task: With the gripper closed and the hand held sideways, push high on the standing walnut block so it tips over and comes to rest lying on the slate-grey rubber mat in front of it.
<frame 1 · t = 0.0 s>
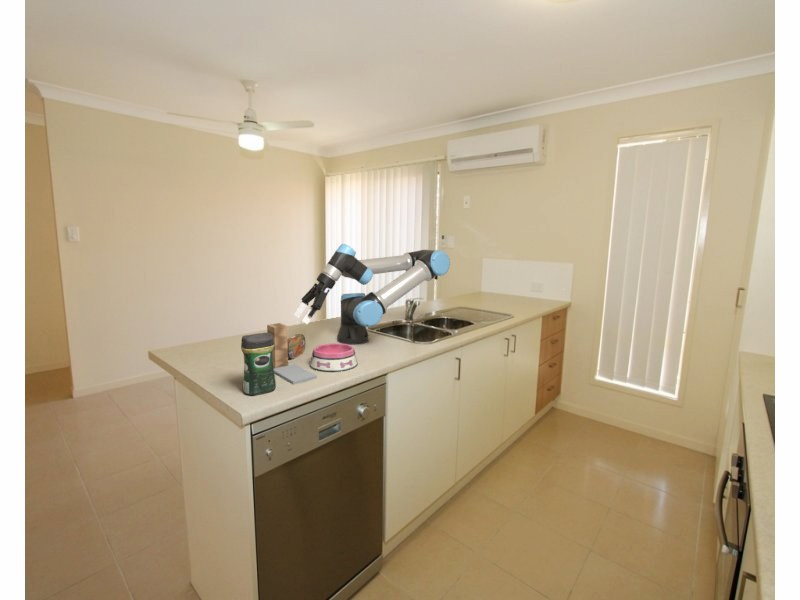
hand: (299, 319, 157), 15 cm above the countertop, tool tilted 35°, fingers open, 13 cm apart
tin: (295, 356, 158), on the countertop
mat: (293, 375, 136), on the countertop
dog bowl: (333, 365, 149), on the countertop
coffee jar: (259, 391, 122), on the countertop
walnut block: (278, 366, 145), on the countertop
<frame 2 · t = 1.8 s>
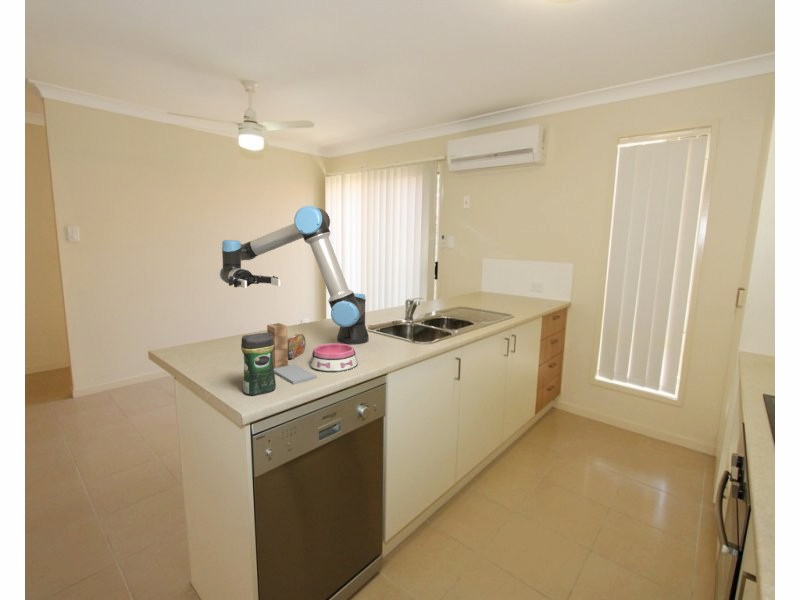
hand: (263, 283, 149), 30 cm above the countertop, tool horizontal, fingers open, 13 cm apart
nothing on the countertop moved.
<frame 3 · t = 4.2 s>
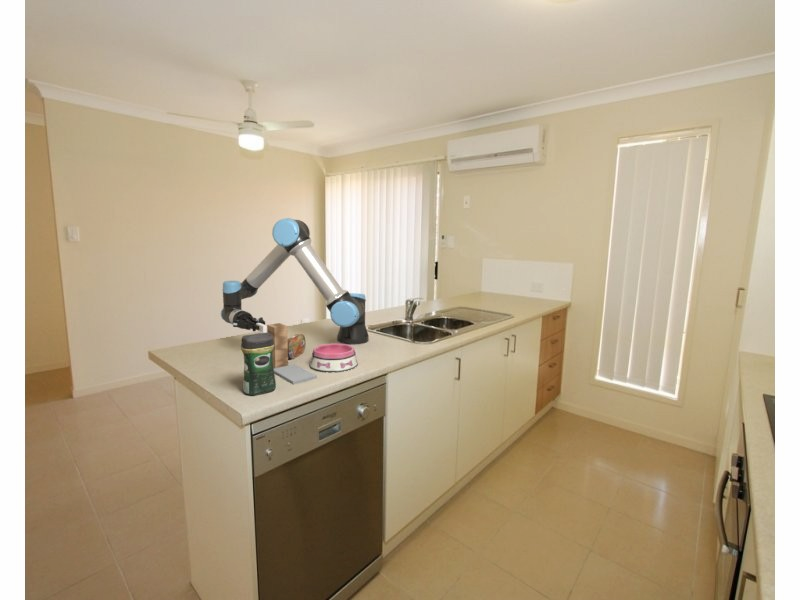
hand: (264, 329, 150), 12 cm above the countertop, tool horizontal, fingers closed
nothing on the countertop moved.
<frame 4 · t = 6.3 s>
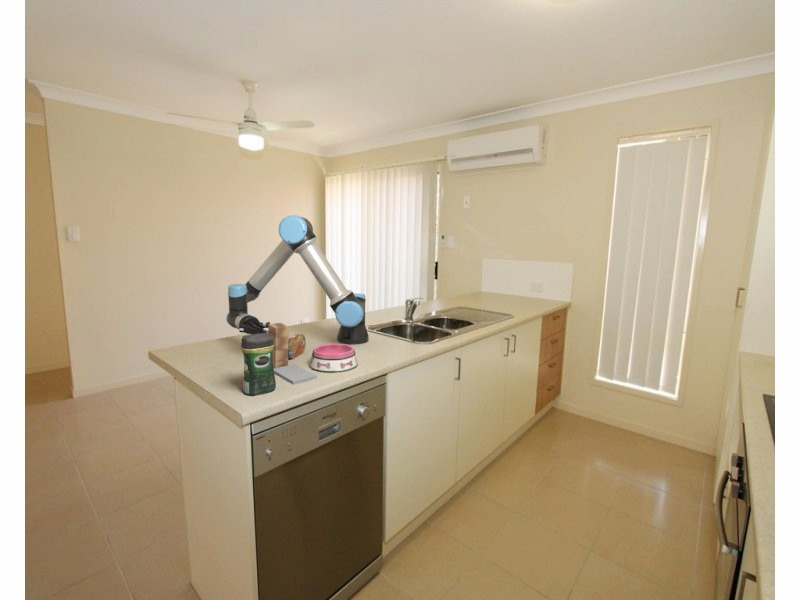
hand: (272, 334, 144), 12 cm above the countertop, tool horizontal, fingers closed
walnut block: (278, 365, 144), on the countertop, touching gripper
everything else where it was.
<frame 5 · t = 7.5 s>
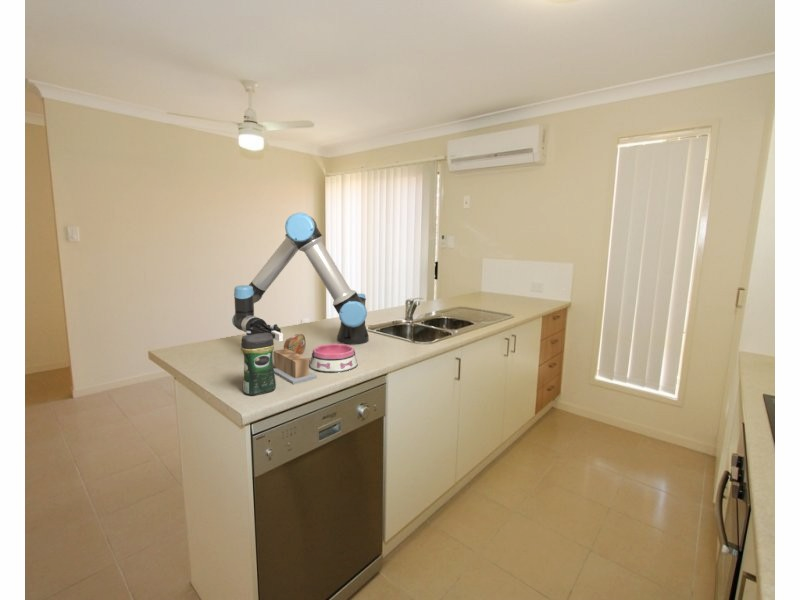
hand: (281, 337, 140), 12 cm above the countertop, tool horizontal, fingers closed
walnut block: (280, 357, 142), point 4 cm above the countertop, tilted 90°, touching mat
everything else where it was.
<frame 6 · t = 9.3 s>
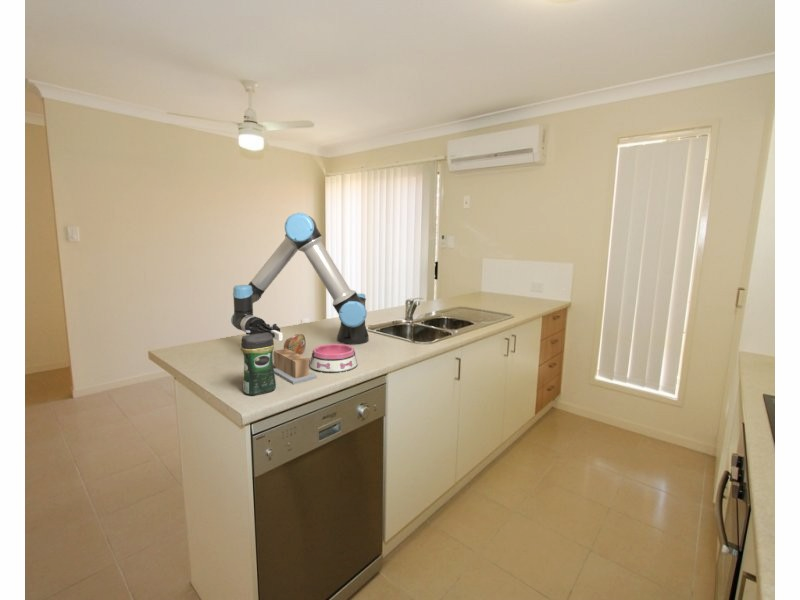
hand: (280, 336, 141), 12 cm above the countertop, tool horizontal, fingers closed
nothing on the countertop moved.
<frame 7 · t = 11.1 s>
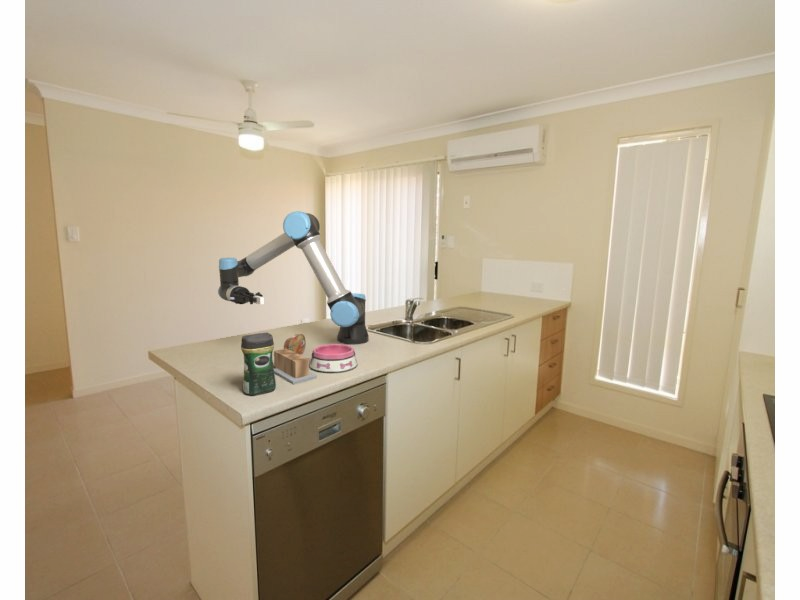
hand: (262, 300, 148), 24 cm above the countertop, tool horizontal, fingers closed
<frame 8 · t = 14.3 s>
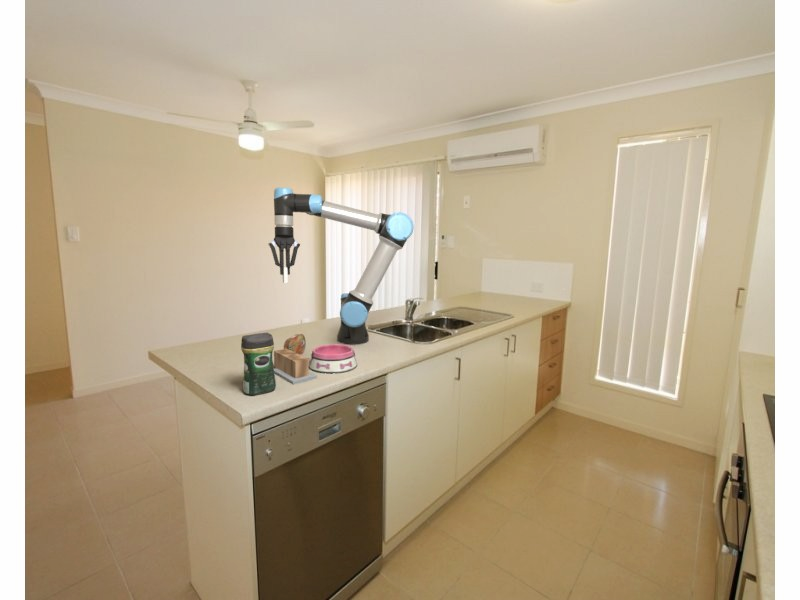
hand: (285, 282, 163), 29 cm above the countertop, tool pointing down, fingers closed
at the end: walnut block tilted 90°; walnut block 9.9 cm from the mat (horizontally); the gripper is holding nothing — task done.
